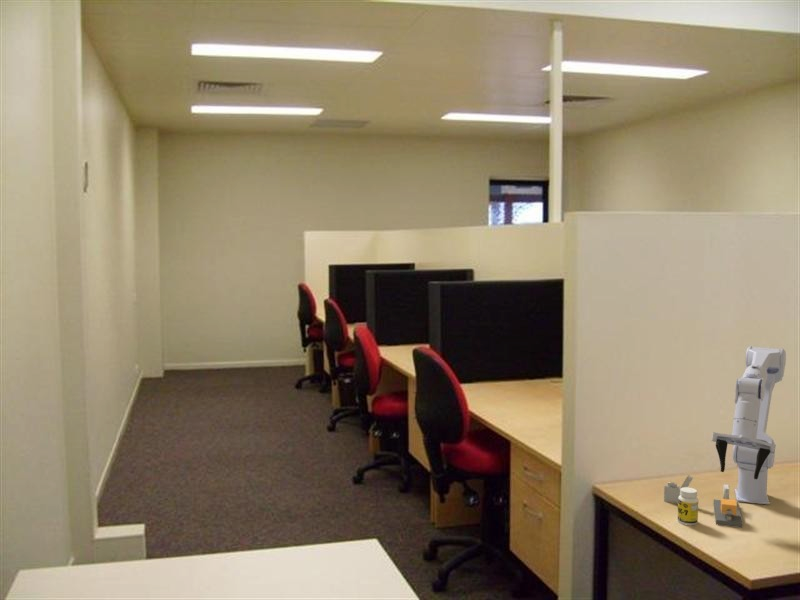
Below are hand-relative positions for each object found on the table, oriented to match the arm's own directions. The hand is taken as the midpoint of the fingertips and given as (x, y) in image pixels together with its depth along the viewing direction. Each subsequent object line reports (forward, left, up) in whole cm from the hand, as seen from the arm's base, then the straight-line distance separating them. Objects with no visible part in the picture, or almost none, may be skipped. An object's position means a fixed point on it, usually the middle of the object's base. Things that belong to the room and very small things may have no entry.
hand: (739, 474), depth 185 cm
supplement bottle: (+3, -12, -13) cm, 18 cm away
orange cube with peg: (-1, -2, -10) cm, 10 cm away
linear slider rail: (-6, -2, -13) cm, 14 cm away
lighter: (-11, -14, -13) cm, 22 cm away
